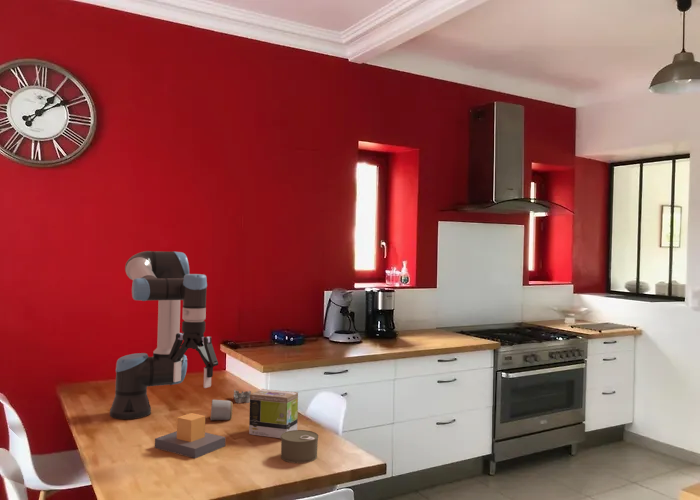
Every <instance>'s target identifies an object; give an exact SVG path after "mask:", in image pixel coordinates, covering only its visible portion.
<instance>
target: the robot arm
mask: <svg viewBox="0 0 700 500" xmlns="http://www.w3.org/2000/svg"><path fill="white" fill-rule="evenodd" d="M189 264H190V263H189V260H188V256H187V255H186V253H184V252H182V251H164V250H163V251H159V250H158V251H157V250H156V251H154V250H152V251H151V250H145V251H141V252H137V253H136V254H134V255H132V256H131V257H129V259H127V261H126V262H125V266H124V271H125V274H126V276H127V277H128V278H129V279H130V280H131V281H132V286H131V297H132V299H133V300H134V301H142V302H146V301H158V305H157V307H158V308H157V310H158V311H157V313H158V314H157V339H156V341H157V343H156V345H157V346H156V348H155V349H154V350H153V351H152V352H153V354H152V356H149V355H148V353H146V352H141V353H140V352H139V353H138V352H137V353H131V354H126V355H124V356H121V357H119V358H118V359H117V360H116V363H115V393H114V394H115V395H114V398H113V402H112V404H111V407H110V409H109V416H110V418H112V419H116V420H117V419H118V420H134V419H140V418H145V417H147V416H149V415H151V411H152V410H151V409H152V407H151V404H150V400H149V398H148V397H149V396H148V394H147V393H148V392H147V391H148V390H147V389H148V388H149V387H156V386H157V387H158V386H168V385H169V386H172V385H179V384H182V383H183V382H184V380H185V378H186V374H187V371H188V358H187V357H188V356H187V355H186V354H185V353H186V352H187V351H188V350H189V349H192V350H195V351H196V352H197V353H198V354H199V356H200V358H201V359H202V361H203V363H204V365H205V366H204V367H203V388H204V389H207V388H211V386H212V378H213V376H214V367H216V366H219V362H218V358H217V355H216V353H215V352H216V351H215V350H214V346H213V342H212V336H210V335H209V336H204V334H205V332H206V321H205V320H206V318H207V317H206V316H207V314H206V312H207V289H208V288H207V287H208V282H207V281H208V280H207V275H206V274H204V273H203V274H201V273H190V265H189ZM181 301H182V320H183V321H182V322H181ZM180 323H181V324H180ZM180 326H181V327H180ZM180 329H181V332H180Z"/></svg>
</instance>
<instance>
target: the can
mask: <svg viewBox="0 0 700 500" xmlns="http://www.w3.org/2000/svg"><path fill="white" fill-rule="evenodd" d="M280 440H281V441H280V443H281V446H280V448H281V449H280V458H281V460H283V461H284V462H287V463H291V464H307V463H310V462H314V461H315V460H317V459H318V446H319V445H318V441H319V434H318V433H316V432H315V431H310V430H305V429H297V430H292V431H287V432H285V433H283V434H282V435H281V438H280Z"/></svg>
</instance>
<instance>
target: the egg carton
mask: <svg viewBox="0 0 700 500" xmlns="http://www.w3.org/2000/svg"><path fill="white" fill-rule="evenodd" d="M250 394H252V392H251V390H247V391H243V390H242V391H241V392H239V390H236V389H233V399H234V401H235V403H236V404H242V403H246V404H248V403H249V404H250Z"/></svg>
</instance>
